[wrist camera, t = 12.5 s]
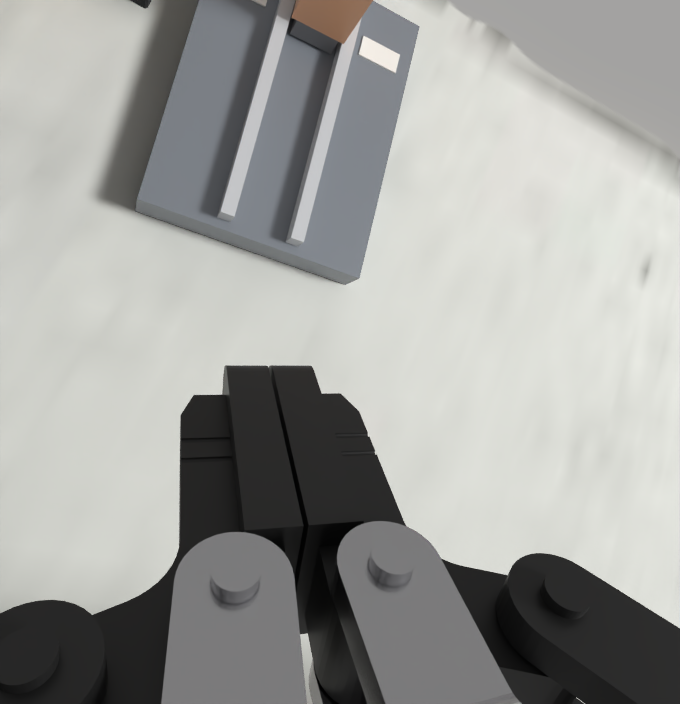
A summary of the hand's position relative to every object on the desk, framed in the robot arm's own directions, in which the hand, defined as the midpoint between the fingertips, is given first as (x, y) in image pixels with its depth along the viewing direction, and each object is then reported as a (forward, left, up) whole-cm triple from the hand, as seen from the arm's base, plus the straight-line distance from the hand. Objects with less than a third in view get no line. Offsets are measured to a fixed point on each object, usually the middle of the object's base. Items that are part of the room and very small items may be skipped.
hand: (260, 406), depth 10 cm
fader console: (+2, +17, -20) cm, 26 cm away
